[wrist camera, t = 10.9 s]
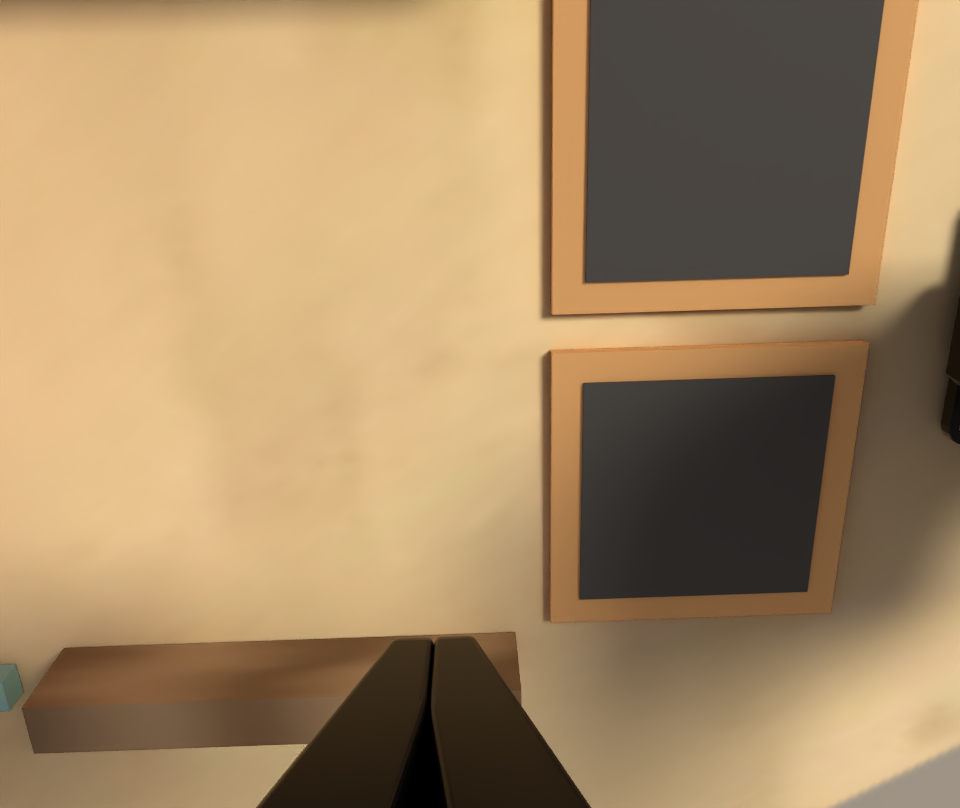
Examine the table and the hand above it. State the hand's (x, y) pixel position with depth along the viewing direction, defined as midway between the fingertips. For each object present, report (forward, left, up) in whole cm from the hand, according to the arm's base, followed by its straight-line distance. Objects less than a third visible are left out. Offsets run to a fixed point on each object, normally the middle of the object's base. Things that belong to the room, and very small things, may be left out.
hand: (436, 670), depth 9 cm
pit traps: (-7, 0, -13) cm, 15 cm away
